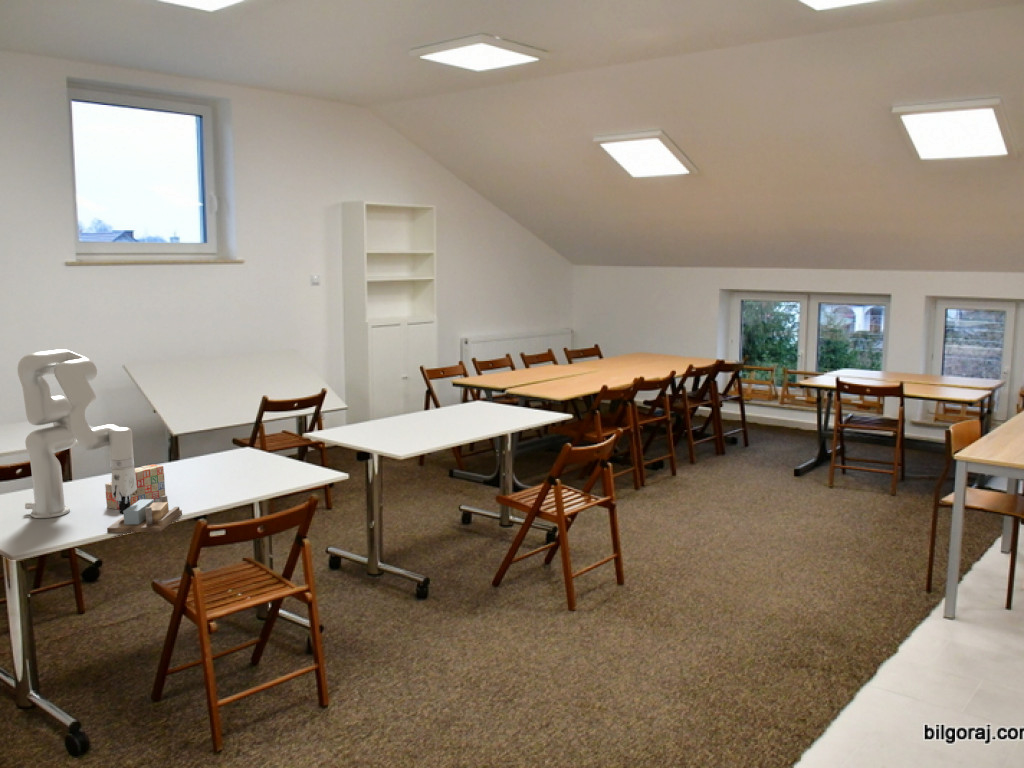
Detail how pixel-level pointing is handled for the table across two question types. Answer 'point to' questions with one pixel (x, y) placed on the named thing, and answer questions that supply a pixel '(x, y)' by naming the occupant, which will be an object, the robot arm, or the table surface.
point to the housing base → (143, 524)
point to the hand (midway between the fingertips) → (125, 513)
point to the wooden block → (159, 510)
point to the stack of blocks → (142, 485)
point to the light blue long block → (137, 512)
